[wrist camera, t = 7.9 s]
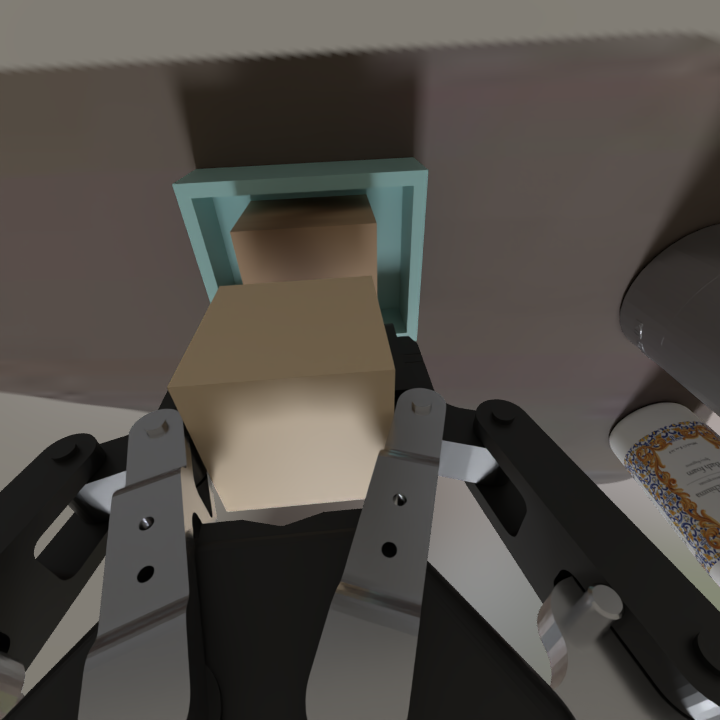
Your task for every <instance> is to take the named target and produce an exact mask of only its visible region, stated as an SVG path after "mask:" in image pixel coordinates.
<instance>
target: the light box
mask: <svg viewBox="0 0 720 720" xmlns="http://www.w3.org/2000/svg"><path fill="white" fill-rule="evenodd" d="M167 389H168V391H169V393H170V395H171V397H172V399H173V401H174V403H175V405H176V407H177V409H178V411H179V413H180V416H181V418H182V420H183V422H184V424H185V426H186V428H187V430H188V432H189V434H190V436H191V438H192V440H193V442H194V445H195V447H196V449H197V451H198V453H199V455H200V457H201V459H202V461H203V463H204V465H205V467H206V469H207V472H208V474H209V476H210V478H211V480H212V482H213V484H214V486H215V488H216V490H217V492H218V494H219V496H220V498H221V501H222V502H223V505H224V507H225V508H226V511H227V512H231V511H241V510H252V509H262V508H274V507H284V506H295V505H306V504H316V503H327V502H337V501H349V500H359V499H365V498H366V494H367V491H368V487H369V484H370V481H371V477H372V474H373V470H374V467H375V463H376V460H377V457H378V454H379V451H380V450H381V449H383V450H384V448H385V444H386V441H387V437H388V434H389V430H390V426H391V423H392V419H393V416H394V398H395V366H394V362H393V358H392V354H391V350H390V346H389V342H388V338H387V334H386V330H385V326H384V322H383V318H382V314H381V310H380V306H379V302H378V298H377V294H376V290H375V286H374V282H373V278H372V276H360V277H345V278H331V279H316V280H302V281H287V282H273V283H258V284H244V285H230V286H219V288H218V290H217V292H216V294H215V296H214V298H213V300H212V302H211V304H210V306H209V308H208V310H207V312H206V313H205V315H204V317H203V319H202V321H201V323H200V325H199V327H198V329H197V331H196V333H195V335H194V337H193V339H192V340H191V342H190V344H189V346H188V348H187V350H186V352H185V354H184V356H183V358H182V360H181V362H180V364H179V366H178V367H177V369H176V371H175V373H174V375H173V377H172V379H171V381H170V383H169V385H168V387H167Z"/></svg>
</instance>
